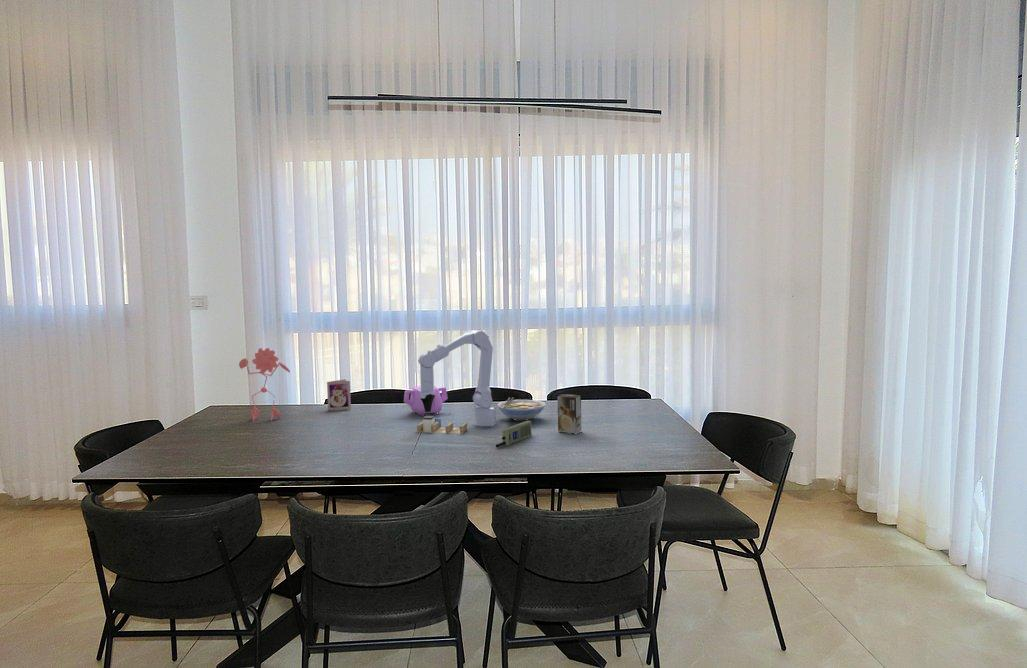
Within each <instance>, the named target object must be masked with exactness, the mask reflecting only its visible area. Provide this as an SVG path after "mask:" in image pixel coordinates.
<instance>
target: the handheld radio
mask: <svg viewBox="0 0 1027 668" xmlns="http://www.w3.org/2000/svg"><path fill="white" fill-rule="evenodd" d="M501 434H502V437H501V439H502V442H499V443H497V444H495V448H496V449H498V448H500V447H502V446H503V447H504V446H505V445H508V446H510V445H512V443H513V444H515V443H517V442H516V441H518V442H519V440H520V441H522V440H524V439H523V438H525V437H527V438H529V437H528V436H530V435H533V434H532V421H531V420H526V421H522V422H520V423H517V424H514V425H512V426H509V427H507V428H504V429H501ZM530 437H531V436H530ZM521 439H522V440H521ZM525 439H526V438H525ZM514 442H515V443H514ZM509 444H510V445H509Z"/></svg>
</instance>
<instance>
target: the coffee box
mask: <svg viewBox="0 0 1027 668" xmlns="http://www.w3.org/2000/svg"><path fill="white" fill-rule="evenodd" d="M556 398H557V403H556V404H557V432H558V431H559V432H558V433H560V432H568V433H567V434H571V433H578V432H580V431H581V430H582V429H583V428H582V395H579V394H569V393H568V394H567V393H562V394H559V395H558V396H557V397H556ZM582 431H583V430H582ZM582 431H581V432H582ZM581 432H580V433H581ZM578 434H579V433H578Z"/></svg>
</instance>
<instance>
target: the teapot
mask: <svg viewBox="0 0 1027 668" xmlns="http://www.w3.org/2000/svg"><path fill="white" fill-rule="evenodd" d="M434 388H435V392H434V393H432V394H431V395H435V397H434V399H433V402H432V407H431V411H430V412H425V409H424V405H423V402H422V400H421V399H420V394H421V393H418V391H419V390H421V385H420V386H414V387H412V389H407V390H405V391H404V395H403V403H405V404H406V405H408V406H409V407H410V409H411V410H412V411H413V413H414V412H416V413H415V414H418V415H424V416H426V415H425V414H430V413H432V415H438V414H439V413H440V412H441V411H442V410H443V409H442V408H443V403H444V402H446V400H448V399H449V397H448V392H447V388H446V387H445V386H441V387H437V386H435V385H434ZM437 413H438V414H437Z"/></svg>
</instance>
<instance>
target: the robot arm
mask: <svg viewBox="0 0 1027 668" xmlns="http://www.w3.org/2000/svg"><path fill="white" fill-rule="evenodd" d="M466 344H467V345H474V346H476V348H477V349H479V351H480V359H479V367H478V368H479V371H478V378H477V379H478V380H477V386H476V387H475V391H474V393H473V395H472V401H473V403H474V404H475V405H474V425H475V426H476V427H494V426H496V424H497V409H496V408H495V407H492V404H493V398H492V397H493V396H492V390H491V387H490V382H491V373H492V362H493V361H492V360H493V352H494V349H493V345H492V343H491V341H490V338H489V335H488V334H487V333H486V332H484V331H482V330H477V329H472V330H470V331H467V332H465V333H463V334H462V335H460V336H459V337H457V338H455V339H454V340H452V341H451V342H449V343H447V344H437V345H436V347H434V348H433V349H431V350H427V353H422V354H421V355H420V356H419V358H418V363H419V365H420V368H419V369H420V371H419V373H420V377H419V378H420V386H421V390H419V391H418V393H421V394H420V399H421V400H422V402H423V405H424V409H425V412H430V411H431V407H432V402H433V399H434V397H435V395H431V394H432V393H434V392H435V388H434V386H435V380H434V379H435V377H434V374H435V373H434V365H435V364H436V363H438V362H439V361H442V360H443V359H444V358H447V357H448V356H449V355H450V352H451V351H454V350H456V349H457V348H461V346H464V345H466Z"/></svg>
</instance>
